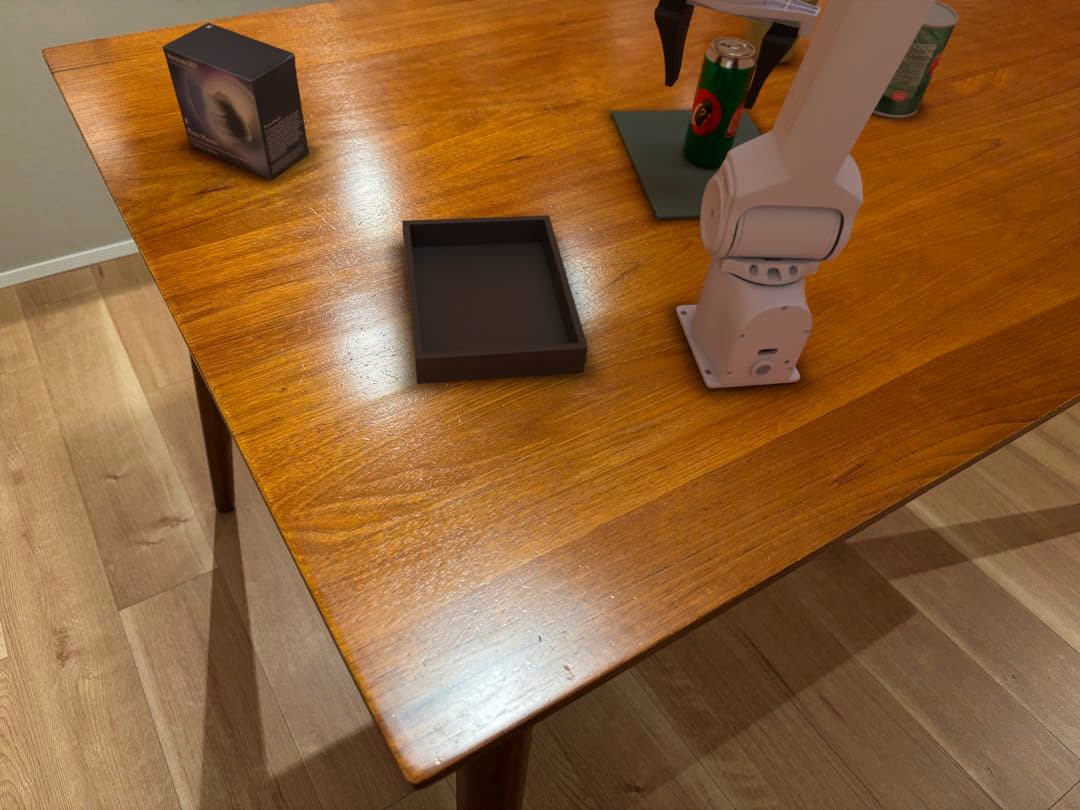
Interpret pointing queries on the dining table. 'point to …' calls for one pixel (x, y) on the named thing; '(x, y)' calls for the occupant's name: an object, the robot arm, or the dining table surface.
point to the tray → (489, 300)
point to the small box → (238, 99)
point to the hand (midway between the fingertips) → (710, 93)
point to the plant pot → (758, 31)
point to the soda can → (719, 101)
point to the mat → (669, 159)
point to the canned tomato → (918, 65)
